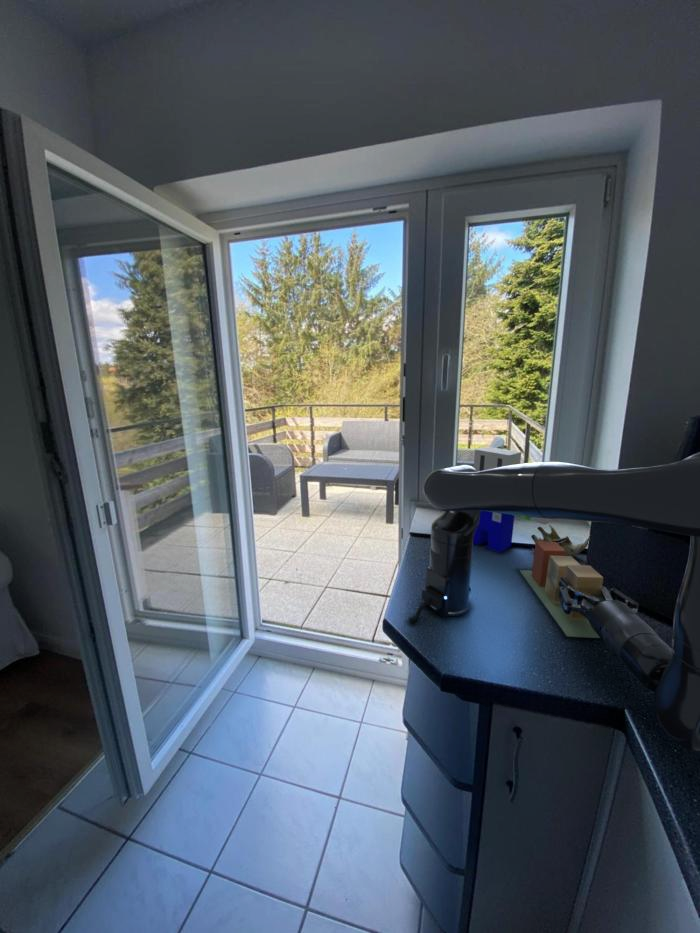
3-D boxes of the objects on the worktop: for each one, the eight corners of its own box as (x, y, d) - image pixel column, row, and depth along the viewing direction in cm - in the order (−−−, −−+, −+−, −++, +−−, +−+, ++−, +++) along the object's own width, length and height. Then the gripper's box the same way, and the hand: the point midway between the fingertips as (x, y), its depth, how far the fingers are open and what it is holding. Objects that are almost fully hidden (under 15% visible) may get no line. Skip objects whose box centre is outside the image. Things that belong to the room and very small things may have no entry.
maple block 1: (576, 605, 86) (582, 566, 83) (553, 605, 86) (559, 566, 84) (565, 593, 91) (571, 556, 88) (544, 592, 91) (549, 555, 89)
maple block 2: (596, 620, 78) (603, 577, 76) (571, 619, 78) (578, 576, 76) (583, 606, 83) (589, 565, 80) (560, 605, 83) (566, 564, 81)
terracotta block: (560, 587, 93) (565, 550, 91) (539, 586, 93) (544, 550, 91) (550, 576, 98) (555, 541, 96) (531, 576, 98) (535, 541, 96)
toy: (438, 529, 128) (443, 444, 121) (450, 524, 132) (455, 441, 125) (539, 568, 103) (553, 462, 95) (550, 560, 107) (564, 458, 100)
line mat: (612, 638, 76) (612, 637, 76) (566, 636, 76) (566, 635, 76) (553, 572, 101) (553, 571, 101) (519, 571, 101) (519, 570, 101)
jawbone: (596, 553, 100) (576, 519, 102) (541, 568, 110) (524, 537, 111) (600, 543, 107) (581, 511, 109) (548, 557, 117) (532, 528, 118)
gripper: (672, 615, 64) (611, 566, 80) (585, 613, 65) (543, 564, 81) (664, 653, 66) (606, 597, 82) (579, 649, 67) (539, 595, 83)
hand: (575, 581), depth 82 cm, fingers closed on maple block 2, 5 cm apart
